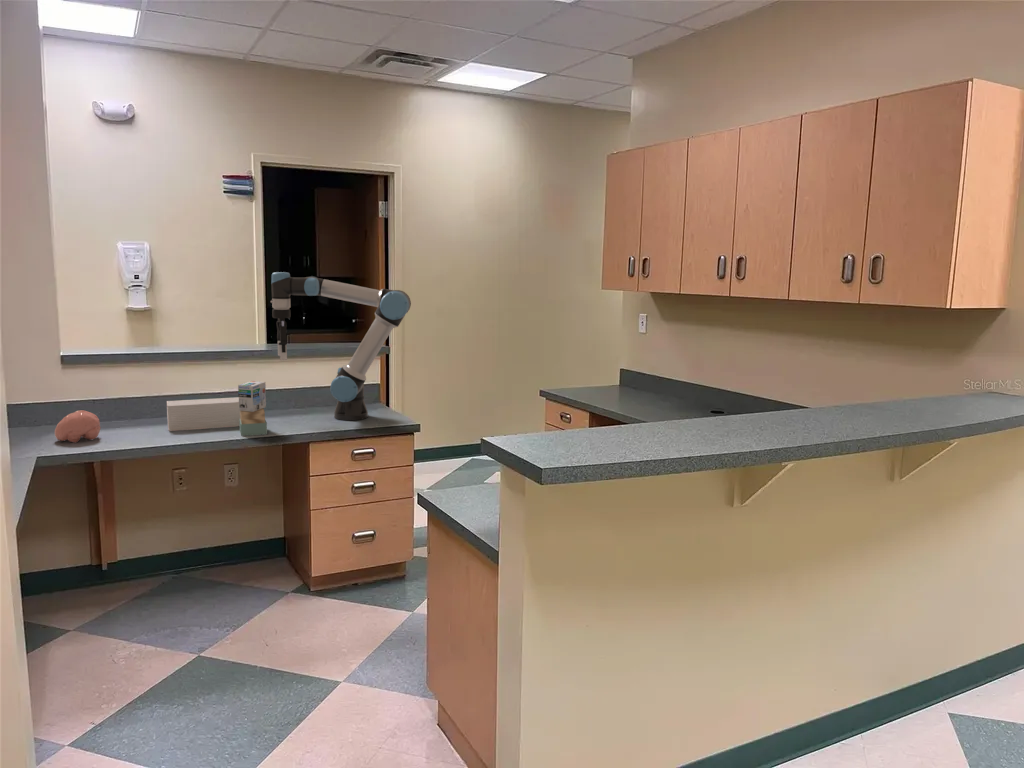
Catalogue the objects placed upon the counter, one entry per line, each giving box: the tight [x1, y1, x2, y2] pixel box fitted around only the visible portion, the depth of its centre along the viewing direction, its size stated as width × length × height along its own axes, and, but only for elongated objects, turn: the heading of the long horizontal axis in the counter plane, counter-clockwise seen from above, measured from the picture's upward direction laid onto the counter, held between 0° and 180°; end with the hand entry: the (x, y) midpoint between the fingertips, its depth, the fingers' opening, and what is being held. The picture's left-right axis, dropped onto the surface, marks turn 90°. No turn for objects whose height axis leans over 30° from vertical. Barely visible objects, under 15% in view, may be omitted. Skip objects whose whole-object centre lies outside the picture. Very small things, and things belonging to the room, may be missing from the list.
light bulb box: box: [237, 380, 267, 412], centre depth 303 cm, size 11×7×11 cm, turn 169°
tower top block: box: [240, 408, 266, 424], centre depth 304 cm, size 9×9×5 cm
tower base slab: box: [239, 419, 268, 437], centre depth 305 cm, size 10×10×5 cm
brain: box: [54, 409, 101, 443], centre depth 284 cm, size 16×13×12 cm
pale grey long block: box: [166, 396, 240, 432], centre depth 313 cm, size 32×11×11 cm, turn 117°
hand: (282, 357), depth 319 cm, fingers open, 13 cm apart
